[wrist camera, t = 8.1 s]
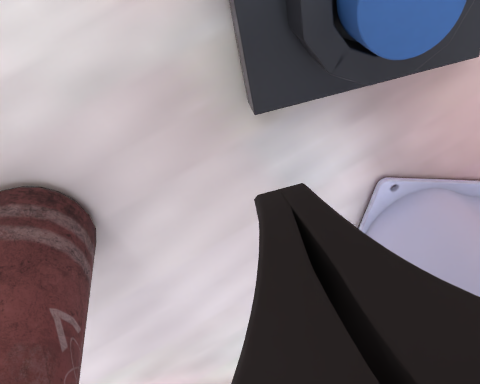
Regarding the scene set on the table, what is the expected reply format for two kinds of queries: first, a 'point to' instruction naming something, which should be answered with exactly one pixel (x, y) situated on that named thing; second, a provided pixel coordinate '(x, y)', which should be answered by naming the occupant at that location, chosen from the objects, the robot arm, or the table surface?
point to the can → (43, 285)
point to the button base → (325, 51)
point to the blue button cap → (399, 24)
